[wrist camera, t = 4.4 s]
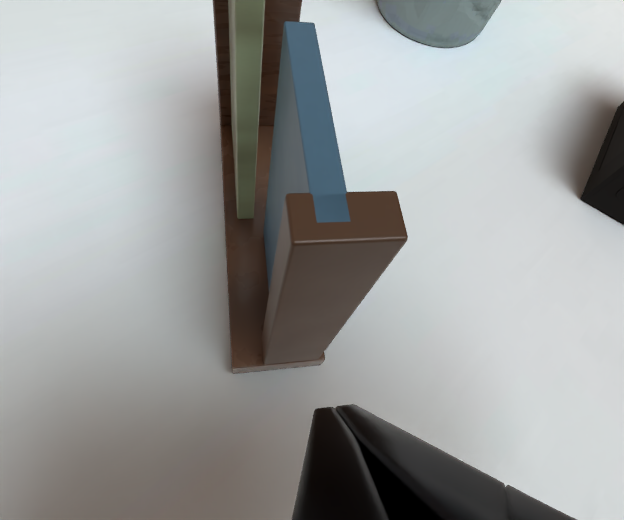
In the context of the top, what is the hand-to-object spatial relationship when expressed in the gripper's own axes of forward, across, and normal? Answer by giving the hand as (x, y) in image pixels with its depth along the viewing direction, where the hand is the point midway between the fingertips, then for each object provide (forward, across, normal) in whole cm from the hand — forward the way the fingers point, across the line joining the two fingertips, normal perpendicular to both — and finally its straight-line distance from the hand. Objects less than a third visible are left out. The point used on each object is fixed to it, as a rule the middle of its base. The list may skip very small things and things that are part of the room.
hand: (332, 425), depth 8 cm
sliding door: (+11, 0, -2) cm, 11 cm away
